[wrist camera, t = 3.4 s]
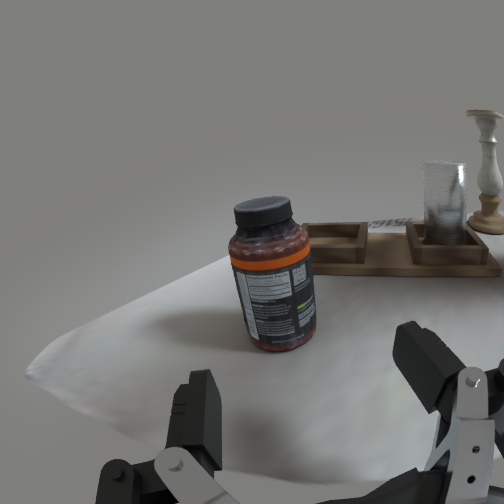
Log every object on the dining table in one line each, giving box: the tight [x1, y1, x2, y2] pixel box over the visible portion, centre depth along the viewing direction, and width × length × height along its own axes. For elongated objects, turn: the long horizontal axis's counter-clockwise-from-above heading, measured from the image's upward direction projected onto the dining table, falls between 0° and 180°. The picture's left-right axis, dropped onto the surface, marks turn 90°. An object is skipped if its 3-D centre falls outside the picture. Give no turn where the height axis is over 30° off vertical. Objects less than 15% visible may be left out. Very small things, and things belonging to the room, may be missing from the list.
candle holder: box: [466, 110, 504, 234], centre depth 30 cm, size 9×9×20 cm
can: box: [422, 161, 467, 245], centre depth 27 cm, size 6×6×11 cm
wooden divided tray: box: [301, 222, 502, 277], centre depth 32 cm, size 30×12×3 cm, turn 65°
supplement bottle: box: [228, 196, 316, 351], centre depth 21 cm, size 6×6×11 cm
